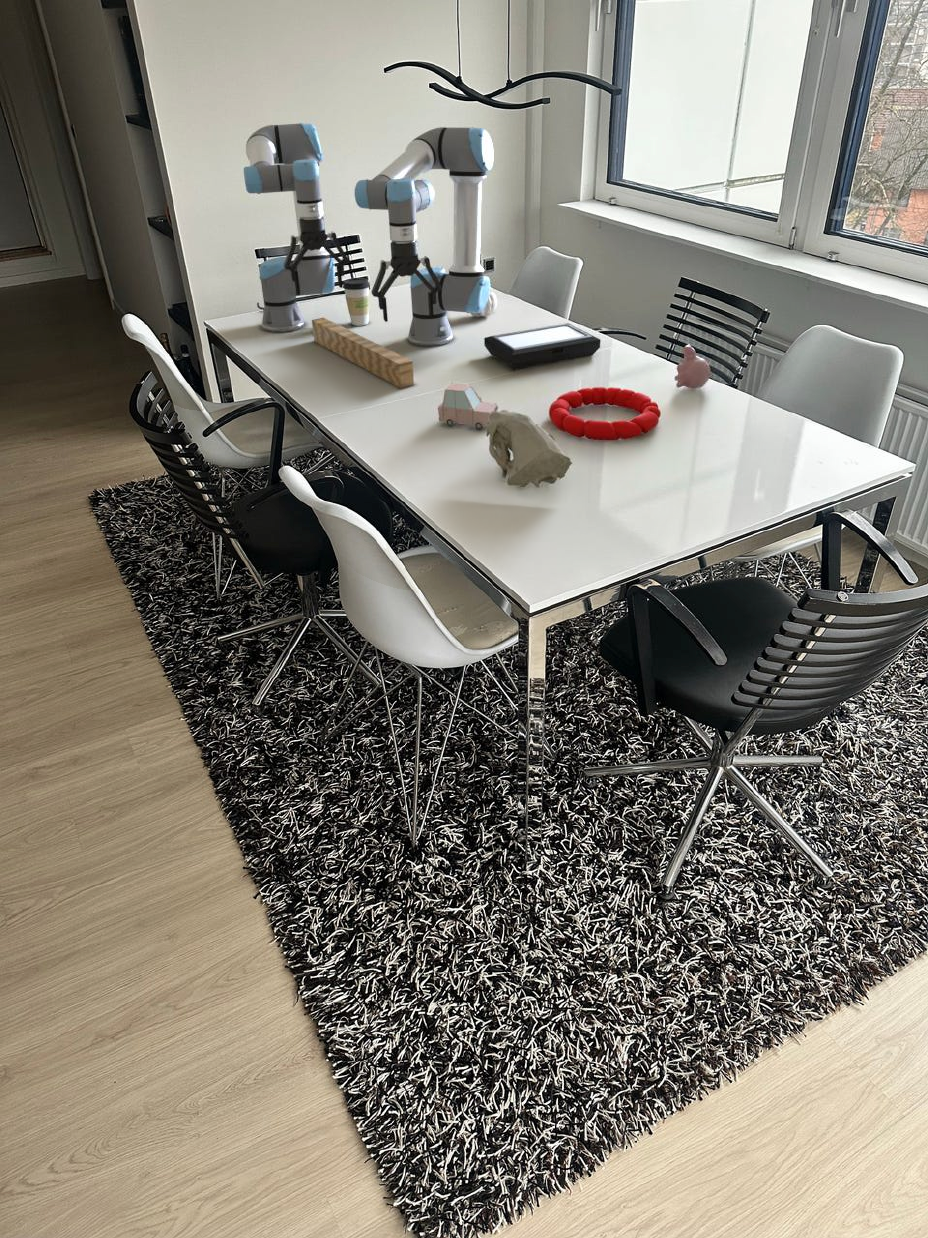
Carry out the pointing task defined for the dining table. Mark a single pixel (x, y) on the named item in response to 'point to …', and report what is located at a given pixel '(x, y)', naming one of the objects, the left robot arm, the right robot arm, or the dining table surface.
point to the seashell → (488, 306)
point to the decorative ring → (604, 428)
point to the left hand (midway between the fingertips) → (319, 289)
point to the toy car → (465, 406)
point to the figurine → (692, 370)
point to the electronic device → (542, 345)
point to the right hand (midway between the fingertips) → (408, 318)
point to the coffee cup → (357, 300)
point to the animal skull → (525, 450)
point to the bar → (364, 352)
